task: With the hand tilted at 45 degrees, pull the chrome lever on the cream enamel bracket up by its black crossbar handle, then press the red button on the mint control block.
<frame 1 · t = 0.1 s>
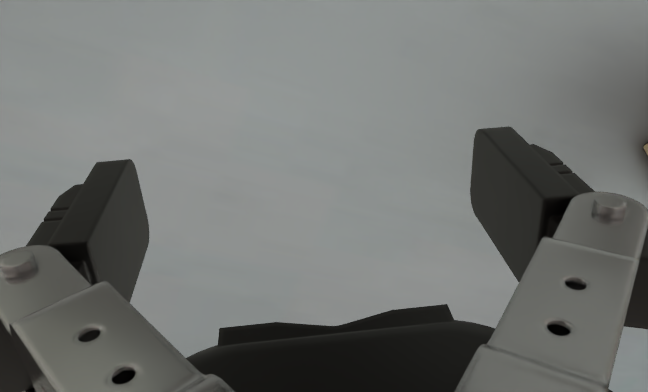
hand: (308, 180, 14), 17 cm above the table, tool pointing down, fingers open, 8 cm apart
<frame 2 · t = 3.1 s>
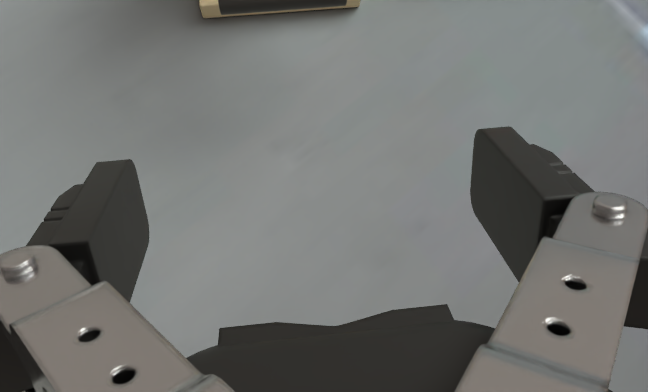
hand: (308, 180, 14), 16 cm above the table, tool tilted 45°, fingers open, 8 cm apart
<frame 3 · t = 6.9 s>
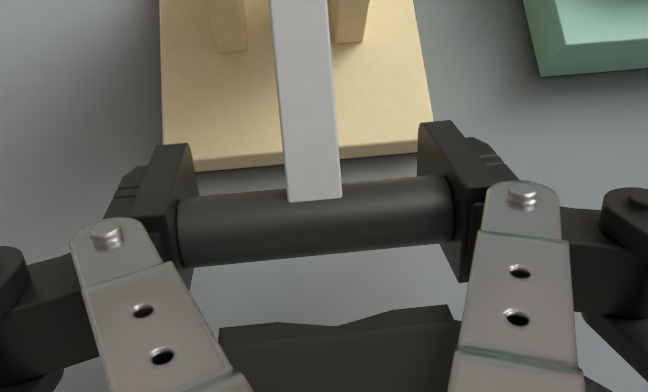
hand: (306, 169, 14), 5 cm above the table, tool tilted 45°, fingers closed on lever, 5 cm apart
bracket: (287, 13, 22), on the table
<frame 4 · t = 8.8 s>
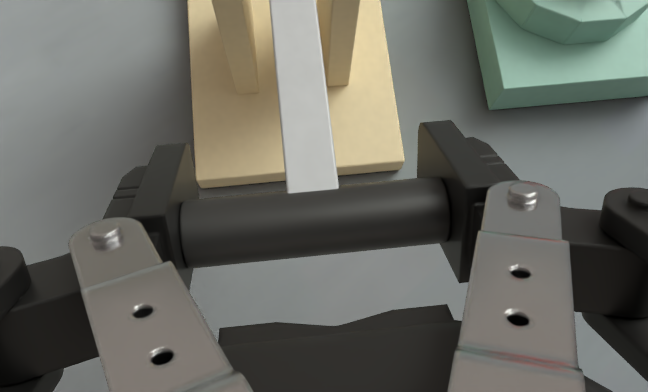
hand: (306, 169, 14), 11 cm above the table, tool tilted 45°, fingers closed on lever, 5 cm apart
bracket: (289, 60, 27), on the table
control block: (547, 2, 29), on the table
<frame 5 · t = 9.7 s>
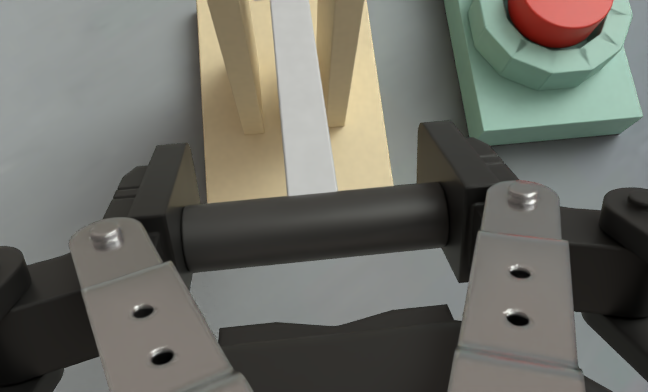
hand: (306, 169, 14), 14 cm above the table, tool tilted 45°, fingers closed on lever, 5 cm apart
bracket: (291, 101, 30), on the table
control block: (525, 47, 32), on the table
lever: (294, 46, 16), point 14 cm above the table, hinge at 19.2°, touching gripper
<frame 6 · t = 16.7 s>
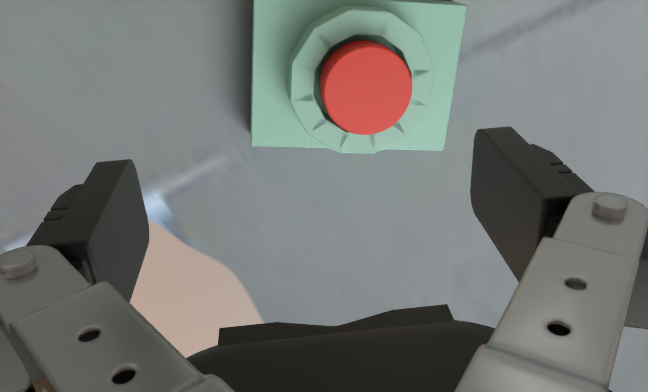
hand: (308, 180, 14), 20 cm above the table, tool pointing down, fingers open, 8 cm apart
control block: (349, 69, 33), on the table
button: (364, 87, 29), point 4 cm above the table, slide at 0.1 cm
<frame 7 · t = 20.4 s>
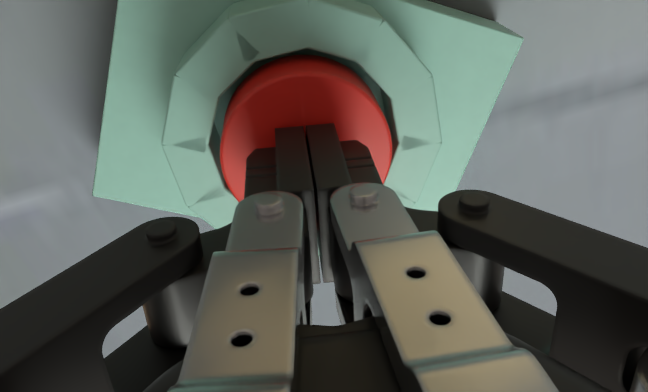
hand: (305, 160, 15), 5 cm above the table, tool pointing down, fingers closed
control block: (297, 95, 19), on the table
button: (305, 144, 15), point 4 cm above the table, slide at -0.4 cm, touching gripper
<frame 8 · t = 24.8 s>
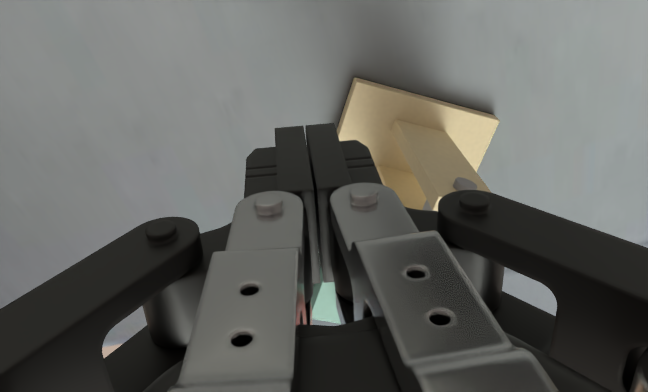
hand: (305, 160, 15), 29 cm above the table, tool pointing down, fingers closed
bracket: (406, 148, 47), on the table
control block: (377, 279, 53), on the table
lever: (379, 220, 34), point 14 cm above the table, hinge at 17.7°
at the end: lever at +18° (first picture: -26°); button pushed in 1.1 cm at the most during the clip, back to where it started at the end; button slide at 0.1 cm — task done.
